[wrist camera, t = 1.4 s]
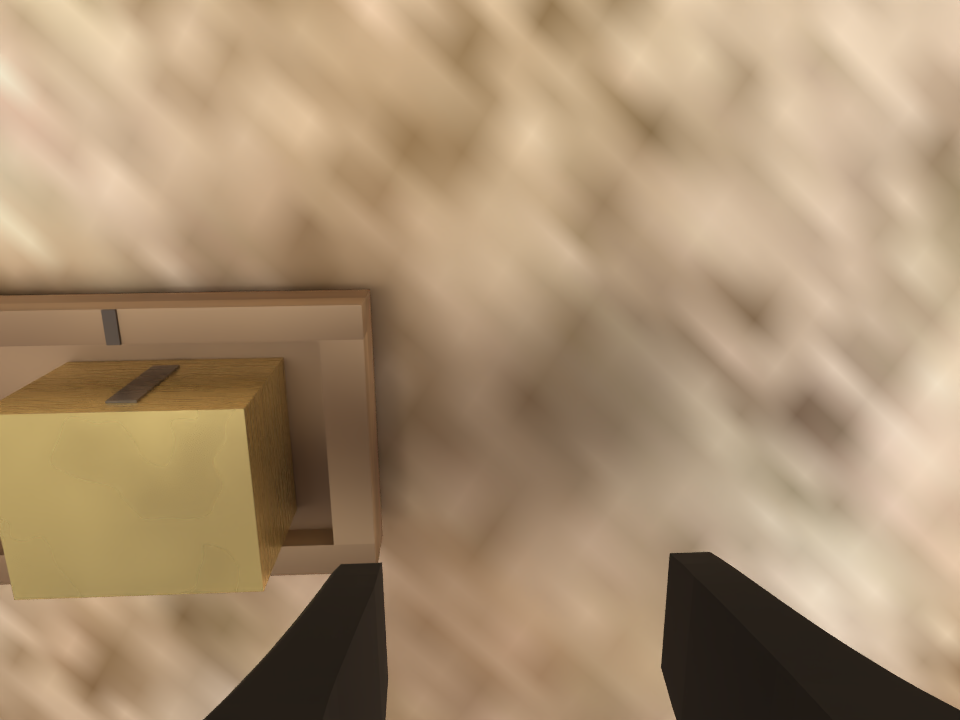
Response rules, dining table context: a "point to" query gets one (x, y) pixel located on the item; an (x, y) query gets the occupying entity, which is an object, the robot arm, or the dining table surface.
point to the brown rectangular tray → (233, 335)
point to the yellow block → (146, 478)
